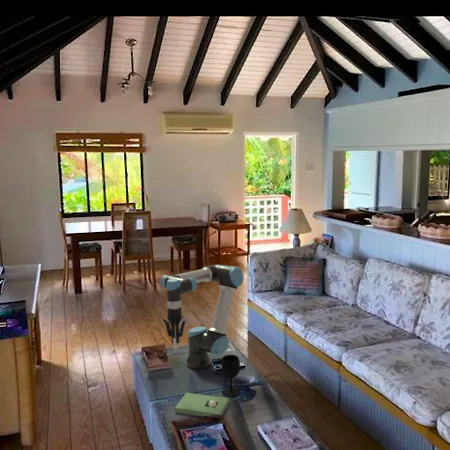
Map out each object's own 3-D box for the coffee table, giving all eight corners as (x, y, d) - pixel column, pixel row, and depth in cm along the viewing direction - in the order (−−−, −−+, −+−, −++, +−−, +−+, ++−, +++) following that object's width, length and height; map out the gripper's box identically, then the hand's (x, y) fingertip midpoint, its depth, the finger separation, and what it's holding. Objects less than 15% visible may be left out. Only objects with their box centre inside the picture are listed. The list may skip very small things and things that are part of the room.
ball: (209, 408, 246) (208, 400, 247) (217, 407, 246) (216, 399, 247) (208, 409, 242) (207, 401, 244) (215, 408, 242) (215, 400, 243)
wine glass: (224, 398, 255) (223, 363, 252) (219, 389, 265) (218, 355, 262) (242, 395, 258) (242, 360, 255) (237, 386, 268) (236, 353, 265)
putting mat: (186, 397, 257) (186, 392, 257) (228, 402, 250) (228, 398, 250) (175, 412, 242) (174, 407, 242) (219, 418, 235) (219, 414, 235)
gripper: (160, 308, 257) (162, 350, 260) (183, 310, 253) (184, 352, 256) (166, 304, 264) (167, 344, 267) (188, 306, 260) (189, 347, 264)
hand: (175, 348), depth 262 cm, fingers closed
